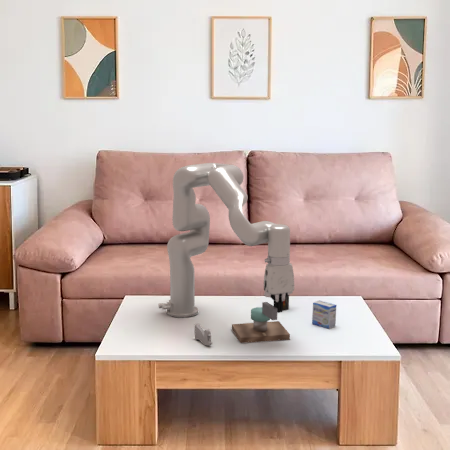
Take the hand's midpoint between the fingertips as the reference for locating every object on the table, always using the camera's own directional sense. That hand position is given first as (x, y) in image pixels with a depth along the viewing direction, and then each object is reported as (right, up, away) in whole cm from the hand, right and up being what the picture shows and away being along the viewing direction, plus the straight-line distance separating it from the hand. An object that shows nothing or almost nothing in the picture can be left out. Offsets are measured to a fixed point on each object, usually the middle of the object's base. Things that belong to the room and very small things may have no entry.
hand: (278, 311), depth 241 cm
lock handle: (-4, -4, +4) cm, 7 cm away
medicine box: (+18, -8, +18) cm, 27 cm away
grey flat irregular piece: (-26, -11, 0) cm, 28 cm away
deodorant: (+4, -4, +37) cm, 38 cm away
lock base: (-6, -9, +8) cm, 14 cm away
